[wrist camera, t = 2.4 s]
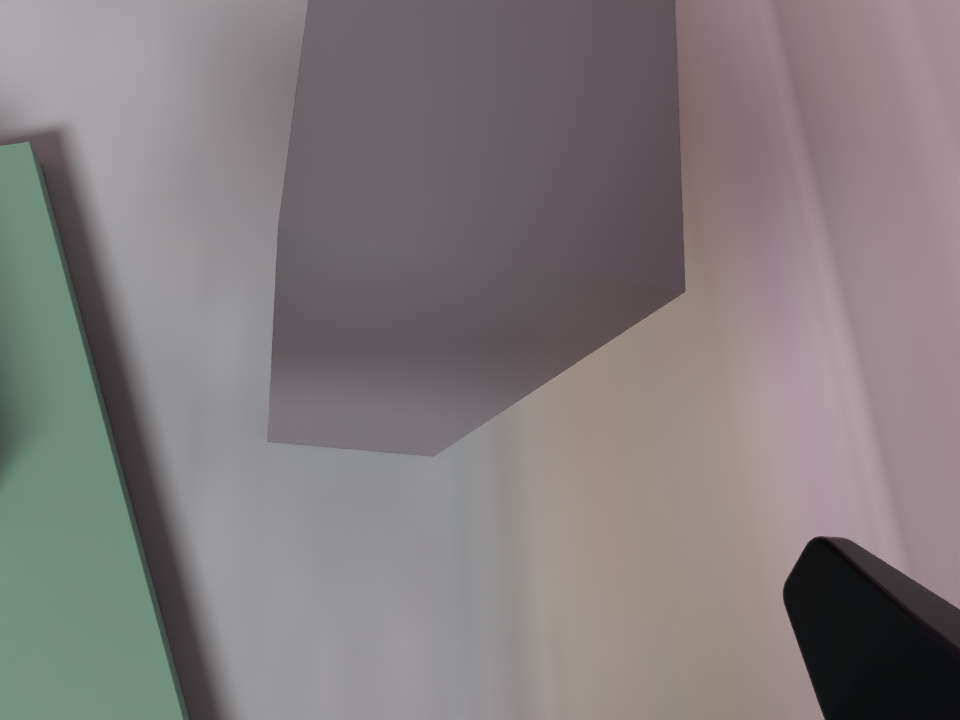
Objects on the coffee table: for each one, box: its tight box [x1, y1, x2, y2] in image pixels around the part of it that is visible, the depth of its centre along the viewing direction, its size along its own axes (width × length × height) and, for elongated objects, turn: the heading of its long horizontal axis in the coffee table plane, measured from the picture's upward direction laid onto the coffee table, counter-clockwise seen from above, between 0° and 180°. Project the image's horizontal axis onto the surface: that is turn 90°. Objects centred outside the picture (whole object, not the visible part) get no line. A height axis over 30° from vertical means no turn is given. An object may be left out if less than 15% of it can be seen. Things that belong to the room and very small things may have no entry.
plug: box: [267, 0, 685, 456], centre depth 14 cm, size 5×4×13 cm
